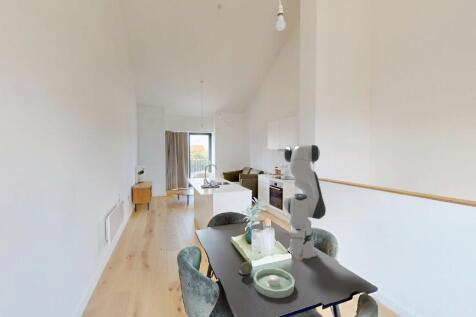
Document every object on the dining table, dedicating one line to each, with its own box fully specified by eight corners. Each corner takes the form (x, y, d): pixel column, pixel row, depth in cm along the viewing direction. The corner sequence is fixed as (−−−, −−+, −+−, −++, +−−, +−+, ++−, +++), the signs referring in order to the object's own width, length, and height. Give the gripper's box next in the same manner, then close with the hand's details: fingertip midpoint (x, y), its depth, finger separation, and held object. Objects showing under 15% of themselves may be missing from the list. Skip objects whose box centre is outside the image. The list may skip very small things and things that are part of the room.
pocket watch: (243, 267, 132) (243, 250, 131) (255, 273, 127) (255, 255, 126) (234, 273, 126) (234, 255, 125) (246, 279, 120) (246, 261, 120)
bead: (293, 256, 115) (293, 246, 114) (302, 257, 113) (303, 247, 113) (292, 260, 111) (293, 250, 110) (302, 261, 109) (302, 251, 109)
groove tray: (259, 271, 128) (259, 265, 128) (295, 278, 122) (296, 272, 122) (249, 292, 110) (249, 285, 109) (291, 302, 103) (292, 295, 103)
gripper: (293, 220, 122) (293, 245, 123) (290, 234, 103) (289, 264, 103) (306, 222, 120) (305, 247, 121) (304, 236, 101) (303, 266, 101)
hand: (297, 255), depth 112 cm, fingers closed on bead, 4 cm apart
